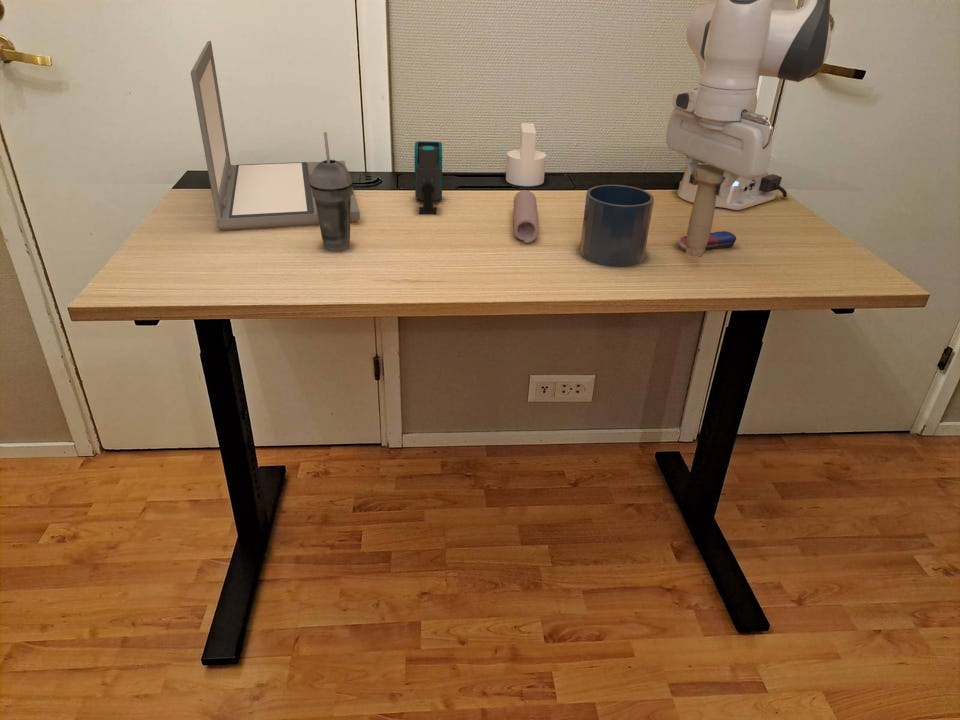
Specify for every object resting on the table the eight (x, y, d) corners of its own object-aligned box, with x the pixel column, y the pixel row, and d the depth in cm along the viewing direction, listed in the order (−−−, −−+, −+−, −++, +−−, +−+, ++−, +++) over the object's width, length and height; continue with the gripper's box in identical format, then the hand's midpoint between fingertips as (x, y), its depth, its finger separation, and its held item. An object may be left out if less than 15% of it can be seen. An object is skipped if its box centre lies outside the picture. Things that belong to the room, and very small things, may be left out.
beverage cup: (322, 257, 121) (311, 141, 111) (311, 242, 127) (299, 130, 116) (362, 250, 124) (355, 137, 114) (349, 236, 130) (341, 127, 119)
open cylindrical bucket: (618, 238, 134) (626, 181, 128) (657, 260, 125) (667, 201, 119) (567, 246, 129) (573, 189, 123) (604, 270, 120) (612, 209, 114)
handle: (701, 246, 126) (718, 164, 117) (714, 261, 120) (732, 176, 112) (675, 246, 125) (690, 164, 117) (686, 261, 120) (703, 176, 112)
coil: (541, 221, 127) (538, 190, 143) (515, 218, 127) (515, 187, 142) (536, 245, 130) (534, 212, 145) (511, 241, 130) (511, 209, 145)
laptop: (360, 224, 135) (350, 68, 120) (217, 233, 129) (187, 70, 114) (345, 171, 164) (335, 40, 149) (227, 176, 158) (204, 40, 143)
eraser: (685, 253, 128) (687, 244, 127) (674, 244, 132) (675, 235, 131) (738, 246, 131) (740, 237, 130) (725, 238, 134) (727, 229, 133)
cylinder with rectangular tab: (545, 186, 159) (549, 133, 153) (506, 185, 159) (508, 132, 153) (542, 175, 167) (546, 123, 160) (505, 173, 167) (507, 122, 160)
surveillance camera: (412, 154, 135) (414, 141, 143) (413, 213, 141) (415, 197, 150) (441, 154, 135) (442, 141, 144) (441, 214, 141) (442, 198, 150)
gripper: (790, 116, 102) (767, 206, 110) (695, 89, 118) (681, 170, 125) (759, 120, 100) (738, 212, 107) (666, 92, 115) (653, 174, 123)
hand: (707, 189), depth 116 cm, fingers closed on handle, 5 cm apart
